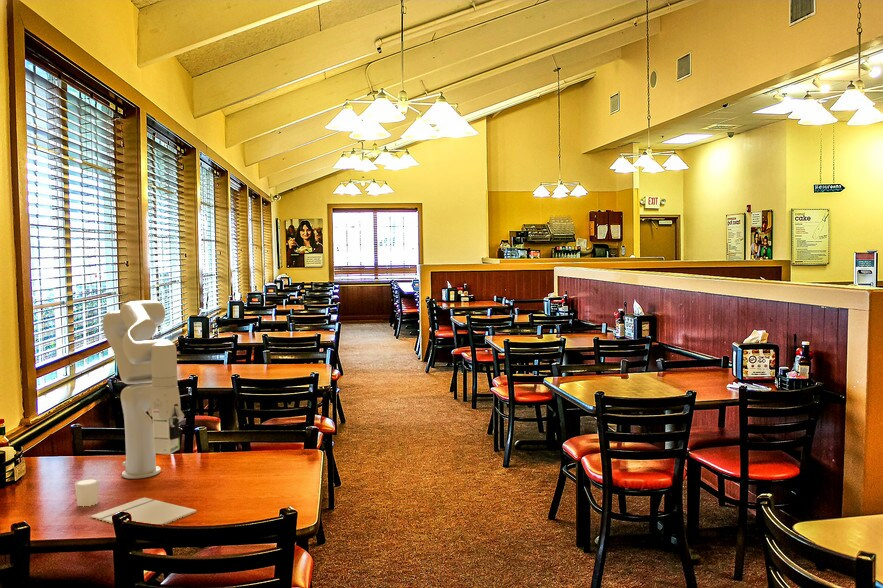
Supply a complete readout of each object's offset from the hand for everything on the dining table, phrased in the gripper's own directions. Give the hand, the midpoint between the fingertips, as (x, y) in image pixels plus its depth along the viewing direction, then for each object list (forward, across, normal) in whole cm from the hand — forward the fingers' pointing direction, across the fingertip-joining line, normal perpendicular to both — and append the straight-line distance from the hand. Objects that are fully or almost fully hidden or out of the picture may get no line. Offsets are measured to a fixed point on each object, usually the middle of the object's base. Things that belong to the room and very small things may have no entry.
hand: (166, 436), depth 228 cm
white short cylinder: (+19, -14, -18) cm, 30 cm away
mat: (+18, +10, -16) cm, 26 cm away
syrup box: (+5, 0, 0) cm, 5 cm away
